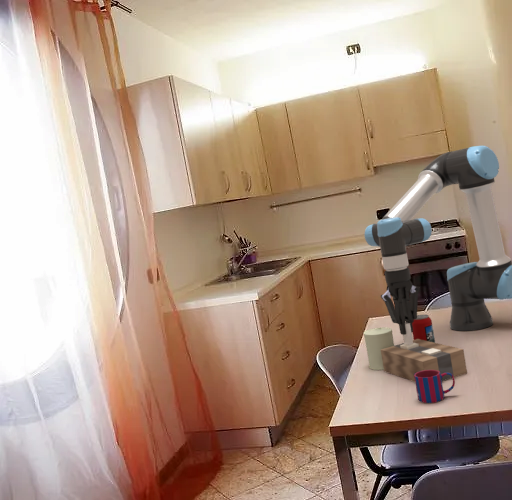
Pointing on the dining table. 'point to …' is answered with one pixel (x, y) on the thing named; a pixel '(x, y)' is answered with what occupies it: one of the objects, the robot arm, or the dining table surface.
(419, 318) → the beverage can
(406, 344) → the peg
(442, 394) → the mug
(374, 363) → the can
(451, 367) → the socket block
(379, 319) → the dining table surface
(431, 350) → the peg
